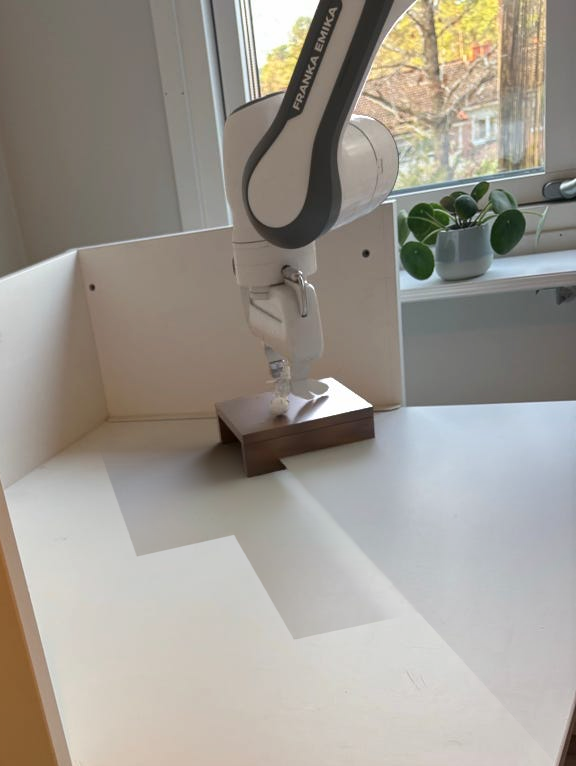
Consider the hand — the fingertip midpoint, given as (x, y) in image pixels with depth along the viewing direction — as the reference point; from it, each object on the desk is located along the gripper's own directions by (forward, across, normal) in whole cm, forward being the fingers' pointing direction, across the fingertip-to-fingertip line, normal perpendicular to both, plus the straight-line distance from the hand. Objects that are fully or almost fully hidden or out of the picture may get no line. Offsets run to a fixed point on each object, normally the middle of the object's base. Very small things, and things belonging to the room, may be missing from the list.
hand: (288, 384), depth 113 cm
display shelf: (+7, 0, 0) cm, 7 cm away
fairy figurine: (+2, 0, 0) cm, 3 cm away
